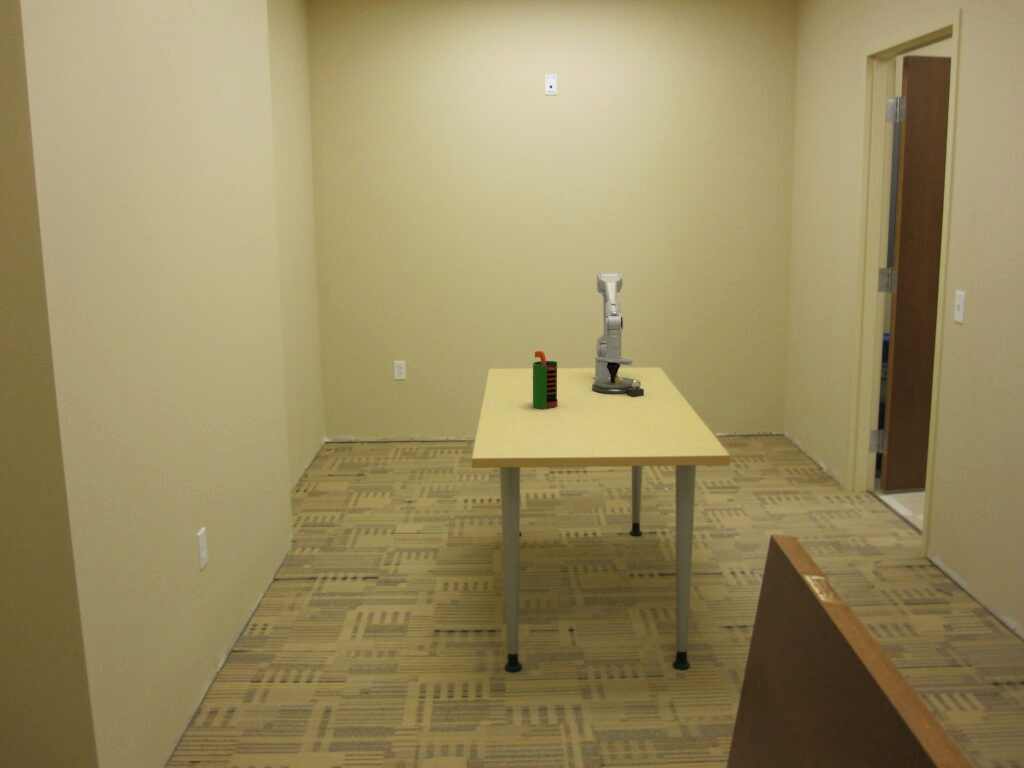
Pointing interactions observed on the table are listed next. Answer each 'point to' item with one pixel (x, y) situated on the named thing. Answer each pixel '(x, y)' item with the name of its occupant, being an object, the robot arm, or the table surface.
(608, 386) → the disc
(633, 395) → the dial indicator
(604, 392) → the plinth
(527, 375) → the table surface
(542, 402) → the motor
